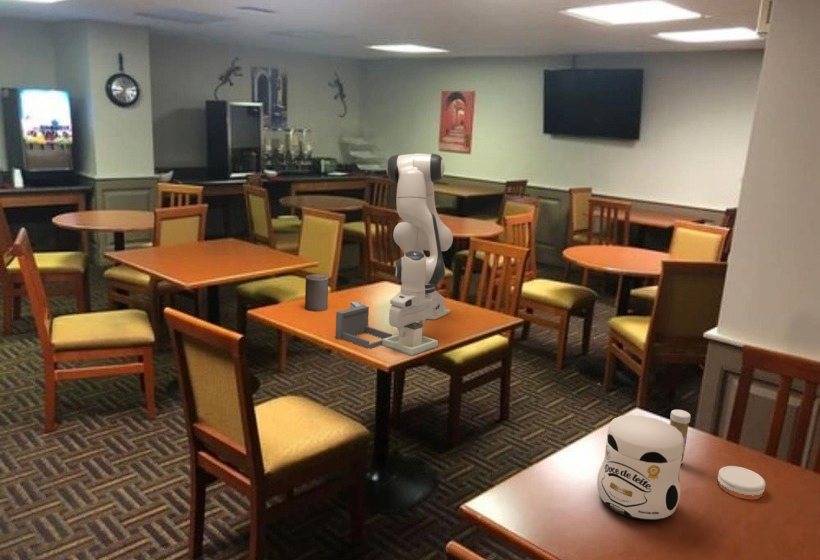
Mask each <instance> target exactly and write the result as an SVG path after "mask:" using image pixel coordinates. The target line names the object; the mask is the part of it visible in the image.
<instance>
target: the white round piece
mask: <svg viewBox="0 0 820 560" xmlns="http://www.w3.org/2000/svg"><path fill="white" fill-rule="evenodd" d="M717 479H718V481H719V482H720V484H721V485H723V486H724V487H726V488H727V489H729V490H731V491H734V492H737V493H739V494H744V495H752V496H754V495H760V494H762V493H763V492H764V493H765V487H766V481H765V479H764V478H763V477H762V476H761V474H758V473H757V472H755V471H753V470H751V469H748V468H746V467H742V466H735V465H727V466H723V467H721V468H720V469H719V470H718V475H717Z"/></svg>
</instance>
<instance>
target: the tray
mask: <svg viewBox="0 0 820 560" xmlns="http://www.w3.org/2000/svg"><path fill="white" fill-rule="evenodd" d="M381 340H382V345H383V347H385V346H386V348H388V347H389V348H388V349H391V350H394V351H396V350H397V352H399V351H400V353H403V354H406V355H409V356H411V357H412V356H416V355H419V354H421V353H425V352H427V351H430V350H433V349H436V348H438V347H439V339H434V338H431V337H428V336H424V335H422V343H421V345H419V346H416V347H413V348H411V347H408V346H405V345H402V344H399V333H397V334H394V335H392V336H391V337H388V338H384V339H383V338H381ZM382 345H381V346H382Z"/></svg>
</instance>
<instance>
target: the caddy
mask: <svg viewBox="0 0 820 560" xmlns="http://www.w3.org/2000/svg"><path fill="white" fill-rule="evenodd" d="M423 327H424V325H422V324H419V322H415V323H412V324H409V325H405V326H404V329H403V331H404V332H405V337H402V338H401V337H399V344H402V345H405V346H408V347H411V348H413V347H416V346H419V345H421V343H422V336H423Z"/></svg>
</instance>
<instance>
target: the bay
mask: <svg viewBox="0 0 820 560" xmlns="http://www.w3.org/2000/svg"><path fill="white" fill-rule="evenodd" d="M364 305H365V304H364ZM364 305H362V306H358V307H354V308H350V307H349V308H345V309H341V310H337V311H336V312H335V338H336V339H339V340H344V341H346V342H349V343H351V342H352V344H354V345H357V344H358V346H360V345H361V346H360V347H362V346H363V347H362V348H366V349H368V348H370V349H373V348H377V347H380V346H382V339H384V338H388V337H391V336H393V334H392V333H389V332H386V331H383V330H380V329H378V328H374V327H371V326H369V310H370V307H369V306H367V305H365V306H364ZM364 332H366V334H368V333H369V334H368V335H371V334H372V335H371V336H374V335H375V336H374V337H377V336H378V337H377V338H380V337H381V338H380V339H381V340H377V341H374V342H370V340H367V339H365V338H361V337H358V335H357V334H359V335H362V334H365V333H364ZM361 333H362V334H361ZM354 335H355V336H354ZM379 345H380V346H379ZM376 346H377V347H376ZM372 347H373V348H372Z"/></svg>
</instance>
